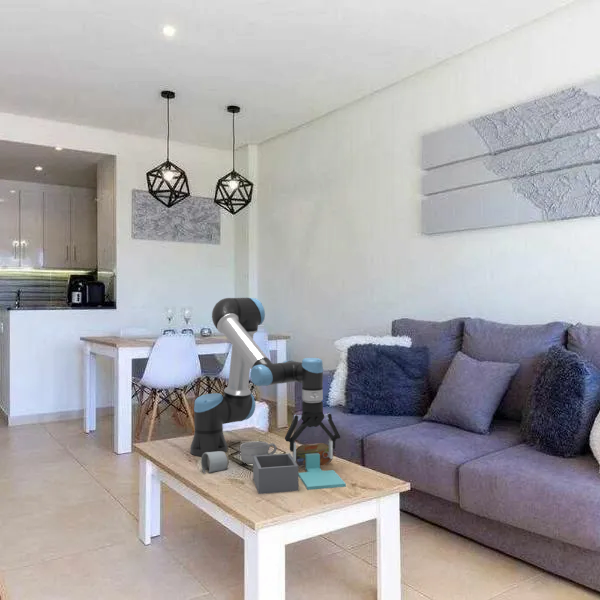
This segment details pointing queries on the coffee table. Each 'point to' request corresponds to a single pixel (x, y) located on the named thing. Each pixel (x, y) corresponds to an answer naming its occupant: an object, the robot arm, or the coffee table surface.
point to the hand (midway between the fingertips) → (312, 459)
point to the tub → (275, 473)
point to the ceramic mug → (214, 461)
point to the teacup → (255, 450)
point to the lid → (318, 475)
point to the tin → (313, 448)
